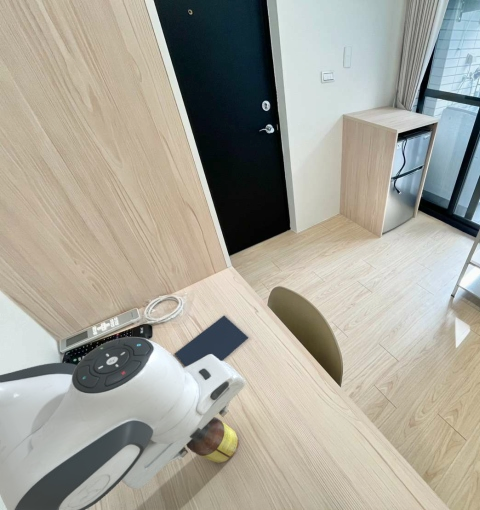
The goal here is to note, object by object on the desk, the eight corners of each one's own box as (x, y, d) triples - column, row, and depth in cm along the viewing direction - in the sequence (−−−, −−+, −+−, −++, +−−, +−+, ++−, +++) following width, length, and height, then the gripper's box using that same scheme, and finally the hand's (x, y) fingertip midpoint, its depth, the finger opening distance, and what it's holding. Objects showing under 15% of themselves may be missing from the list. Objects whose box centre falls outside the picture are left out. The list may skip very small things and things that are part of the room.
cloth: (198, 381, 70) (197, 381, 69) (174, 354, 75) (174, 353, 75) (248, 337, 79) (248, 337, 79) (224, 315, 84) (224, 315, 84)
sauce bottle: (231, 424, 63) (202, 393, 49) (244, 447, 60) (217, 421, 46) (204, 446, 60) (164, 420, 46) (216, 473, 56) (177, 453, 43)
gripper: (104, 496, 34) (156, 504, 43) (240, 368, 45) (257, 397, 55) (86, 457, 36) (138, 473, 46) (218, 346, 48) (238, 377, 57)
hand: (204, 431), depth 50 cm, fingers open, 7 cm apart
